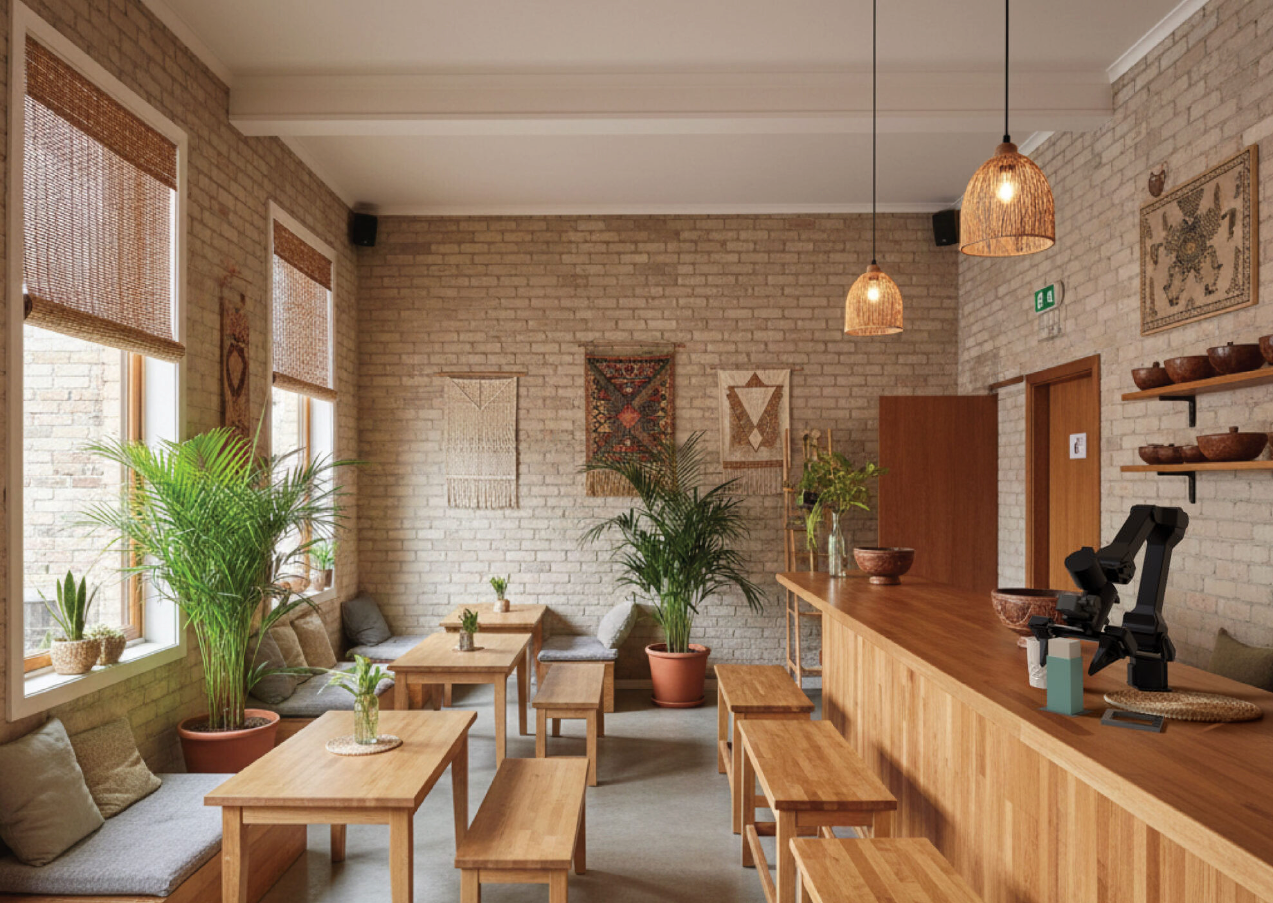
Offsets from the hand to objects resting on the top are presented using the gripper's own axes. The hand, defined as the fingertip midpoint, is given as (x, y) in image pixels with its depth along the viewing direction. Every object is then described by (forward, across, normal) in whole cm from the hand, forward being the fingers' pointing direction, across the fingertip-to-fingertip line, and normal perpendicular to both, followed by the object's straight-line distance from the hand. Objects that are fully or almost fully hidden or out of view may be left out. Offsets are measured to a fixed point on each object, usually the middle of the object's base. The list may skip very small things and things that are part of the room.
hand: (1064, 670), depth 164 cm
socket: (+4, +11, +7) cm, 14 cm away
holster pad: (+6, 0, +6) cm, 8 cm away
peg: (+5, 0, +5) cm, 7 cm away
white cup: (-6, -12, +17) cm, 22 cm away
